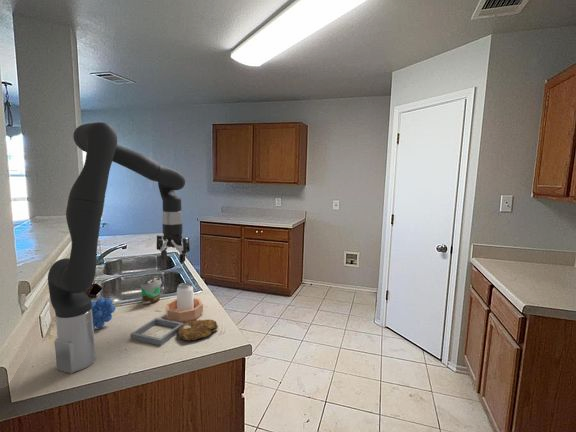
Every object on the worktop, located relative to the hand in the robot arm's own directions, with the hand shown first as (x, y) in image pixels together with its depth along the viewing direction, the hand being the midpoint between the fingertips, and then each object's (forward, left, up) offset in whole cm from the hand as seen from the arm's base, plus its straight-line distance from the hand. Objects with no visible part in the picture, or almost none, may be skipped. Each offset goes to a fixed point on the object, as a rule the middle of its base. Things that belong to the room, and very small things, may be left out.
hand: (173, 261), depth 128 cm
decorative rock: (-9, -17, -24) cm, 31 cm away
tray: (-14, -4, -23) cm, 28 cm away
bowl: (+2, -4, -23) cm, 23 cm away
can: (+2, -4, -22) cm, 23 cm away
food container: (+9, +17, -23) cm, 30 cm away
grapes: (-18, +20, -23) cm, 36 cm away
